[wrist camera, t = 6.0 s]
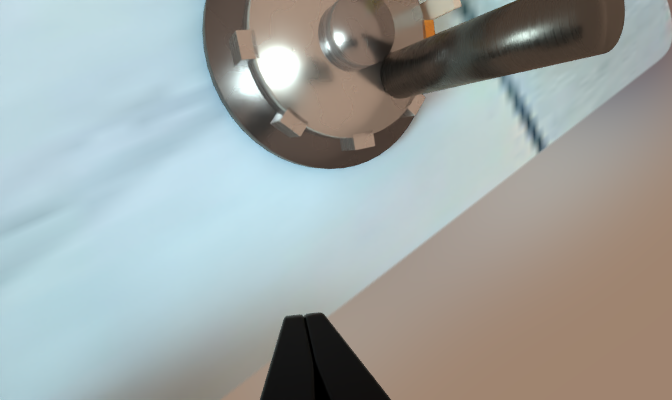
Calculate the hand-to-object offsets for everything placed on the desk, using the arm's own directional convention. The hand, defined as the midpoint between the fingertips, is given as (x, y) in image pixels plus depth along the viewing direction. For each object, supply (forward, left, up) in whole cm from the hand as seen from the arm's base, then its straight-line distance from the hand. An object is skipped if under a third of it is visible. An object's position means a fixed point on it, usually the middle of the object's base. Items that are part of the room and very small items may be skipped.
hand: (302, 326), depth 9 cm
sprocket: (+11, -3, -11) cm, 16 cm away
